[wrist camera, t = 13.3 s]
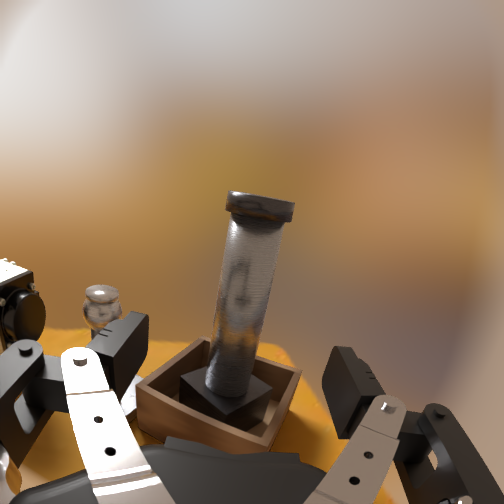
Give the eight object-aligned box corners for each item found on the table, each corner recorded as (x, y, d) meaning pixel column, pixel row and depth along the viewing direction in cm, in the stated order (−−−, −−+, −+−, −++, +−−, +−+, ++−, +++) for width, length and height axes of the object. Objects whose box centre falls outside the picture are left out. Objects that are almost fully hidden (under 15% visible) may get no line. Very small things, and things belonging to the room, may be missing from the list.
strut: (178, 410, 22) (203, 186, 18) (222, 390, 25) (257, 194, 22) (219, 447, 18) (268, 199, 14) (262, 420, 22) (317, 207, 18)
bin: (138, 427, 19) (134, 385, 18) (197, 374, 29) (202, 335, 28) (252, 483, 16) (267, 446, 15) (288, 409, 26) (302, 370, 24)
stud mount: (59, 393, 19) (42, 286, 17) (108, 365, 26) (105, 269, 24) (111, 437, 17) (97, 324, 15) (160, 397, 24) (165, 294, 22)
